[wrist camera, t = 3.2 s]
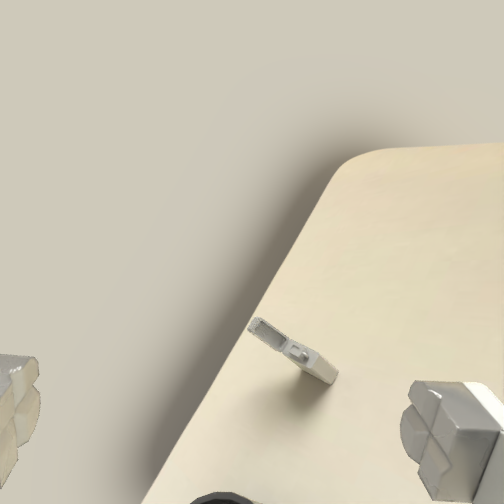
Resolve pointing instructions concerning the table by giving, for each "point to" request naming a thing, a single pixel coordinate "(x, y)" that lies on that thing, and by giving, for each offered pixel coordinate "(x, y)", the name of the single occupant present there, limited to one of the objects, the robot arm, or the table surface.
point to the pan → (224, 499)
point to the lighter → (294, 351)
